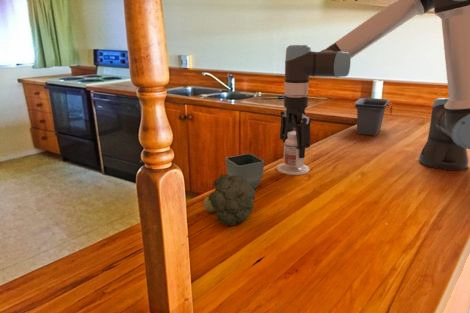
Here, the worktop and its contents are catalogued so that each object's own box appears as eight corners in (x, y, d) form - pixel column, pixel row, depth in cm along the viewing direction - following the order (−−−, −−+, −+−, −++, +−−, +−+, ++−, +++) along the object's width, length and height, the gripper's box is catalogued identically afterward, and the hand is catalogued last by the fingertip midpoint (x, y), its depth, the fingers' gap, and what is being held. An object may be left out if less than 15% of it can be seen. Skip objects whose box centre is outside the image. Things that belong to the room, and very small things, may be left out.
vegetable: (228, 191, 104) (269, 180, 94) (221, 236, 98) (263, 230, 88) (195, 174, 97) (234, 160, 87) (184, 221, 91) (225, 212, 81)
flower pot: (238, 195, 107) (238, 166, 104) (225, 185, 114) (224, 157, 111) (264, 189, 110) (265, 161, 108) (250, 180, 118) (250, 153, 115)
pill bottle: (297, 160, 130) (298, 129, 127) (306, 166, 125) (307, 134, 121) (281, 162, 128) (282, 131, 125) (289, 168, 123) (290, 135, 119)
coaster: (316, 171, 125) (316, 169, 124) (288, 177, 120) (288, 175, 120) (296, 162, 134) (296, 160, 134) (270, 167, 129) (270, 165, 129)
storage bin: (358, 125, 188) (361, 96, 183) (391, 128, 181) (395, 99, 177) (350, 134, 170) (352, 103, 165) (386, 138, 163) (390, 106, 159)
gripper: (325, 98, 113) (320, 170, 120) (288, 90, 129) (286, 154, 136) (305, 100, 109) (301, 174, 116) (270, 92, 125) (268, 157, 133)
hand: (293, 163), depth 126 cm, fingers closed on pill bottle, 6 cm apart
